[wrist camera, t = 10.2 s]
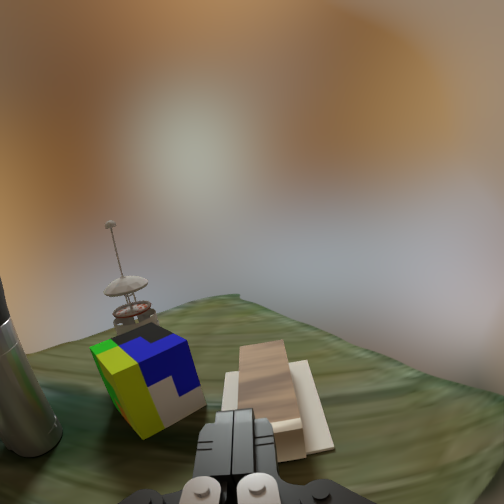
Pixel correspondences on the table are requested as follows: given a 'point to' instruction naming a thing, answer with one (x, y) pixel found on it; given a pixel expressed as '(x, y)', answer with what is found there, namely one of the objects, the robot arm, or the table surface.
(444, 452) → the table surface
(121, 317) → the french press
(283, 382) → the walnut block
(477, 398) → the table surface
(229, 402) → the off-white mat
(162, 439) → the table surface
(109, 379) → the puzzle toy
